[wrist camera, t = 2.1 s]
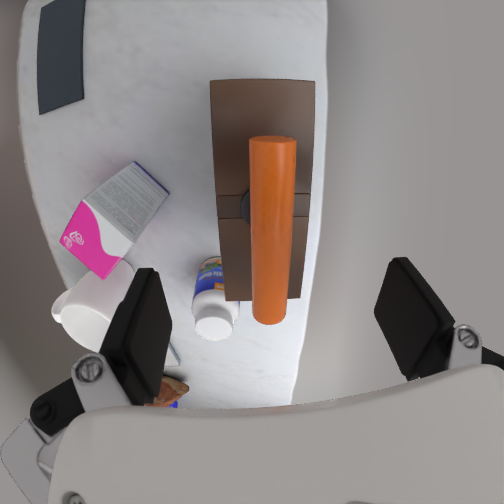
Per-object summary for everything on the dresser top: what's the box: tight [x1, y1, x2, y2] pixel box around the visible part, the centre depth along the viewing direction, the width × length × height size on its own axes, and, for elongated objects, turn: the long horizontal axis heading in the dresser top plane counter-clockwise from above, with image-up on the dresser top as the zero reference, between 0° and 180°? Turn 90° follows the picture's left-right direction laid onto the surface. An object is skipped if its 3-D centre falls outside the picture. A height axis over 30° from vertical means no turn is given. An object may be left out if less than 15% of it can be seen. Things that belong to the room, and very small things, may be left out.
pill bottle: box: [192, 257, 240, 341], centre depth 31 cm, size 5×5×10 cm
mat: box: [37, 0, 86, 115], centre depth 17 cm, size 16×7×1 cm, turn 1°
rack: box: [210, 79, 315, 301], centre depth 22 cm, size 16×6×12 cm, turn 1°
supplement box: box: [59, 161, 170, 280], centre depth 24 cm, size 6×6×12 cm
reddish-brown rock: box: [144, 376, 189, 407], centre depth 47 cm, size 13×8×10 cm
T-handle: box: [240, 136, 296, 325], centre depth 19 cm, size 10×3×14 cm, turn 1°
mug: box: [52, 259, 134, 352], centre depth 30 cm, size 12×8×11 cm
